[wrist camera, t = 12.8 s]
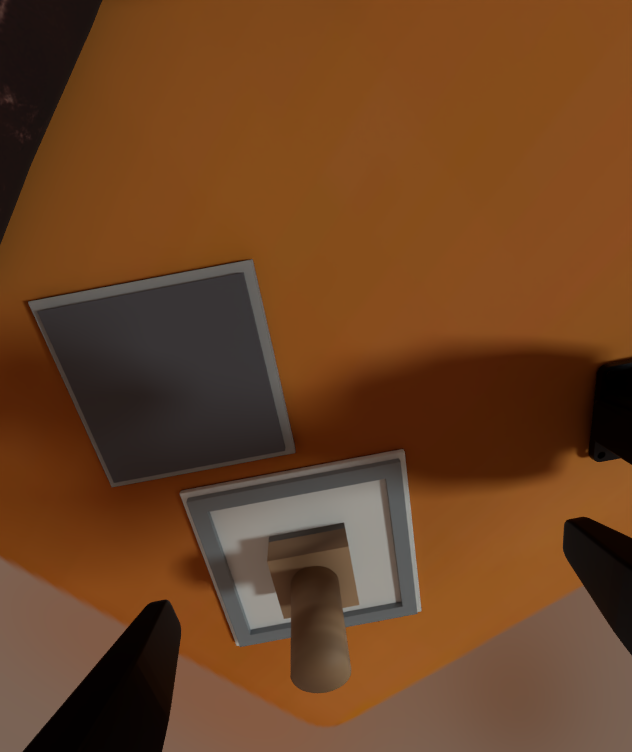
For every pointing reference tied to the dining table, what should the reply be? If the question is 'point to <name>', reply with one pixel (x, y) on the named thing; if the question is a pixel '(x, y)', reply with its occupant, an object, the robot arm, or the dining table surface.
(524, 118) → the dining table surface
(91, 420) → the ink pad
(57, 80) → the diary
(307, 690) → the stamp
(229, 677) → the dining table surface
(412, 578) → the print sheet
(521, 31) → the dining table surface
